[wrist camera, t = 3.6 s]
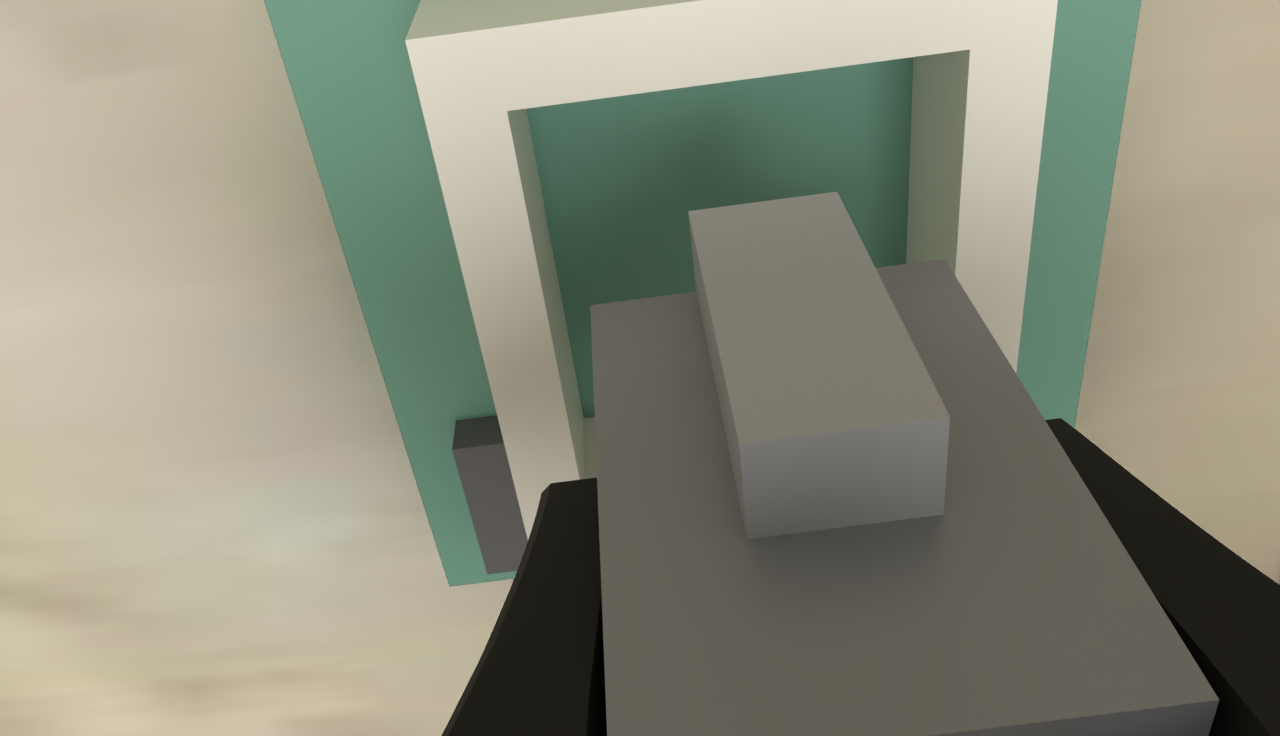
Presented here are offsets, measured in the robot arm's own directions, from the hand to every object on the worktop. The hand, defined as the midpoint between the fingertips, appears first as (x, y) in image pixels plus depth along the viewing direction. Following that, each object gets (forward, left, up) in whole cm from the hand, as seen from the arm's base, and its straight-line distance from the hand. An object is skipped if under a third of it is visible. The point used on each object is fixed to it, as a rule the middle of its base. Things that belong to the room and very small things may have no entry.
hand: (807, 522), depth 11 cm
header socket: (0, 0, -7) cm, 7 cm away
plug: (0, 0, -2) cm, 2 cm away
